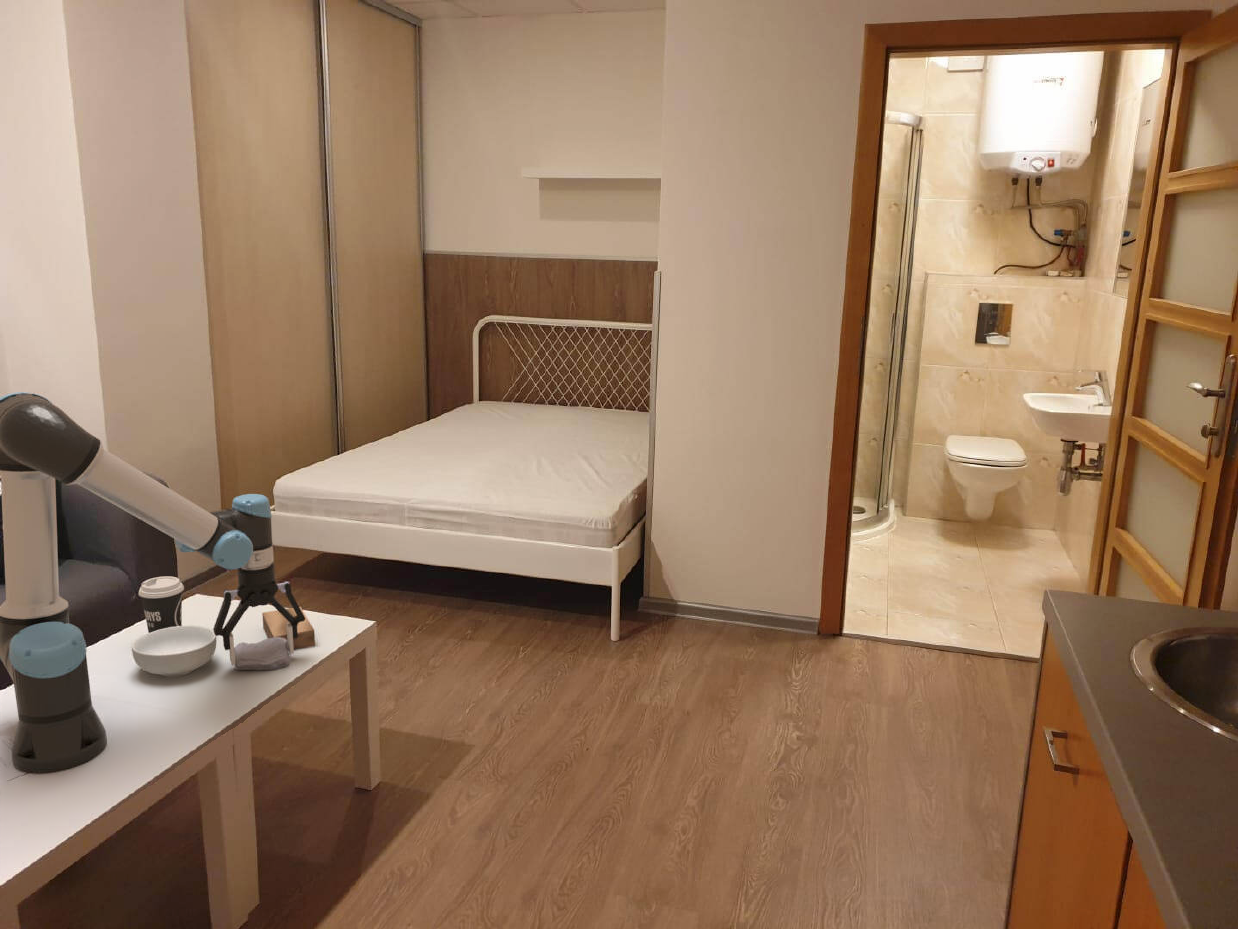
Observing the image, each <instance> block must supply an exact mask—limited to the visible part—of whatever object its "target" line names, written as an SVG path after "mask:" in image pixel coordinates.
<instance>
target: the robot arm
mask: <svg viewBox="0 0 1238 929" xmlns="http://www.w3.org/2000/svg"><path fill="white" fill-rule="evenodd" d="M56 480H57V481H59V482H60V483H63V484H65V485H67V486H72V485H78V486H80V487H82V488H84V489H86V490H88V491H89V492H91V493H93V494H94V495H96V496H98V497H99V498H101V499H103V500H105V501H106V502H108V503H110V504H112V505H114V506H115V507H118V508H120V509H121V510H123V511H124V512H126V513H128V514H129V515H132V516H133V517H135V518H137V519H138V520H141V521H143V523H146V524H148V525H149V526H152V527H153V528H155V529H156V530H159V531H160V532H162V533H164V534H166V535H167V536H169V537H171V538H173V539H174V543H175V545H176V548H177V549H178V550H179V551H180V552H181V553H190V552H192V553H195V552H197V553H199V554H200V555H201V556H204V557H206V558H207V559H209V560H211V561H213V562H214V563H215V565H217V566H219V567H221V568H224V569H225V570H237V579H238V580H237V581H238V587H237V589H234V590H229V589H224V590H223V601H222V604H221V606H220V608H219V611H218V614H217V618H216V620H215V623H214V626H213V629H212V630H213V631H214V634H215V635H216V637H219V636H220V637H221V636H222V639H223V642H222V643H223V648H224V650H225V651H228V650H229V661H230V663H231V665H234V666H235V651H234V648H235V642H234V634H233V630H234V629H235V628H236V626H237V624H239V621H240V620H241V618H242V617H243V615H244V614H245V612H247V610H248V609H249V607H251V608H256V607H259V606H267V605H268V604H270V605H271V606H272V607H273V608H275V610H278V611H279V612H280V613H281V614H282V615H283V616H284V617H285V618H286V619H287V620H288V621H289V622H290V623H287V639H288V650H289V651H288V653H289V655H294V654H295V651H294V650H295V649H294V647H293V638H297V636H298V633H297V625H298V623H299V622H303V621H305V617H304V615H303V613H302V611H301V609H300V608H299V607H300V606H299V604H298V602H297V601H296V599H295V597H294V594H293V593H292V586H291V584H290V582H289V580H284V581H283V582H281V583H277V582H276V577H275V576H276V573H275V565H274V563H273V562H274V561H275V559H274V548H273V547H274V546H273V533H272V532H273V529H272V528H273V527H272V517H273V516H272V512H271V505H270V500H269V498H268V496H265V495H263V494H258V493H247V494H241V495H238V496H235V497H234V498H233V499H232V504H231V507H230V508H229V507H228V508H226V509H221V510H213V511H207V510H205V509H204V508H202V507H201V506H199V505H197V504H196V503H194V502H193V501H191V500H189V499H187V498H185V497H184V496H182V495H181V494H179V493H177V492H176V491H175V490H172V489H171V488H169V487H168V486H166V485H164V484H162V483H161V482H159V481H158V480H156V479H154V478H153V477H152V476H149V475H148V474H145V473H144V472H142V471H141V470H140V469H138V468H136V467H134V466H133V465H131V464H129V463H127V462H126V461H124V460H123V459H121V458H119V457H118V456H116V455H115V454H113V453H111V452H110V451H108V450H106V449H105V448H104V447H103V442H102V440H101V439H99V438H98V437H96V436H95V435H92V433H91V432H88V431H87V430H85V429H84V428H83V427H82V426H80V425H79V424H78V423H77V422H76V421H74V420H73V418H72V417H70V416H69V415H68V414H67V413H66V412H65V411H64V410H62V409H61V408H60V407H58V406H57V405H55V404H53V403H52V402H51V401H50V400H49V399H47V398H46V397H44V396H42V395H39V394H36V393H30V392H13V393H9V394H5V395H4V396H1V397H0V487H1V488H0V489H1V490H0V491H1V511H2V512H1V514H2V534H3V535H2V536H3V552H4V553H3V555H4V556H3V558H4V578H5V597H6V598H5V601H4V602H3V603H2V604H1V605H0V661H1V662H2V663H3V665H4V667H5V669H6V671H7V673H8V674H9V676H10V678H11V680H12V682H13V687H14V694H15V700H16V701H15V702H16V709H17V716H18V723H17V727H16V731H15V734H14V738H13V742H12V747H11V758H12V764H13V766H14V767H15V768H16V769H18V770H20V771H23V772H26V773H33V774H34V773H36V774H37V773H39V774H40V773H50V772H58V771H62V770H66V769H69V768H74V767H77V766H80V765H82V764H84V763H86V762H88V761H90V760H92V759H93V758H95V757H97V755H100V753H101V752H103V751H104V749H105V747H106V746H107V743H108V739H107V731H106V727H105V726H104V724H103V722H102V721H101V718H100V717H99V715H98V714H97V712H96V710H95V708H94V707H93V704H92V694H91V693H92V692H91V688H90V687H91V686H90V684H91V683H90V677H89V676H90V675H89V668H88V659H87V643H86V640H85V638H84V634H83V632H82V630H81V629H80V628H79V627H78V626H76V625H74V624H72V623H70V617H69V616H70V614H69V602H68V601H67V600H66V599H64V598H63V597H61V595H60V590H59V589H60V587H59V586H60V585H59V580H60V579H59V559H58V558H59V557H58V529H57V528H58V526H57V522H58V521H57V498H56V497H57V494H56V492H57V491H56V489H57V488H56ZM278 590H280V591H281V593H282V594H285V595H286V598H287V599H288V601H289V603H290V605H291V606H292V607H291V608H293V609H294V611H295V612H296V614H297V616H295V617H293V616H292V615H291V614H290V613H289V612H288V611H287V610H286V609H287V608H286V607H285V606H283V604H282V603H281V602H280V601H279V600H278V599H277V598H276V597H275V595H276V594H277V593H278ZM236 597H238V598H240V601H239V603H238V605H237V607H236V608H235V609H234V611H233V613H232V615H231V616H230V617H229V619H228V621H227V622H226V619H227V617H228V614H229V611H230V608H231V605H232V602H233V601H234V600H235V598H236ZM225 622H226V624H225Z"/></svg>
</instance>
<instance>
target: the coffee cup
mask: <svg viewBox="0 0 1238 929" xmlns="http://www.w3.org/2000/svg"><path fill="white" fill-rule="evenodd" d="M184 590H185V586H184V584H183V583H182V582H181V581H180V579H179V578H178V577H175V576H170V575H169V576H158V577H153V578H149V579H146V580H145V581H143V582H142V583H141V586H140V587H139V590H138V596H139V597H140V598H141V602H142V607H143V613H144V616H145V621H146V625H147V631H148V633H150V632H153V631H156V630H160V629H164V628H169V627H176V626H183V625H182V617H183V616H182V614H183V613H182V612H183V611H182V607H183V606H182V605H183V591H184Z"/></svg>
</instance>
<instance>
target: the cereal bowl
mask: <svg viewBox="0 0 1238 929" xmlns="http://www.w3.org/2000/svg"><path fill="white" fill-rule="evenodd" d="M216 649H217V636H216V635H215V634H214V631H213V629H211V628H209V627H206V626H201V625H199V626H198V625H182V626H176V627H169V628H164V629H160V630H156V631H153V632H150V633H149V632H148V633H146V634H143V635H142V636H139V637H138V638H137V639H135V640H134V641H133V643H132V644H131V653H132V657H133V660H134V662H135V664H136V665H137V666H138V667H139V668H140V669H141V670H143V671H144V672H145V671H146V672H147V673H150V674H153V675H154V674H156V675H160V676H161V677H167V678H170V677H171V678H172V677H179V676H183V675H187V674H190V673H191V672H193V671H194V670H196V669H197V668H200V667H202V666H203V665H205V664H206V663H207V662H209V661H210V659H211V658H212V657H213V656H214V654H215V652H216Z"/></svg>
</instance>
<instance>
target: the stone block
mask: <svg viewBox="0 0 1238 929" xmlns="http://www.w3.org/2000/svg"><path fill="white" fill-rule="evenodd" d="M234 651H235V664H234V668H235V670H238V671H251V670H253V671H267V670H270V671H271V670H278V669H281V668H282V669H283V668H285V667H287V666H288V665H289V664H290V663H291V659H290V656H289V651H288V641H287V640H286V639H284V638H281V637H274V638H270V639H268V638H265V639H263V640H260V641H258V642H252V643H251V642H250V643H248V642H244V641H243V642H239V643H238V644H236V645H235V646H234Z"/></svg>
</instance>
